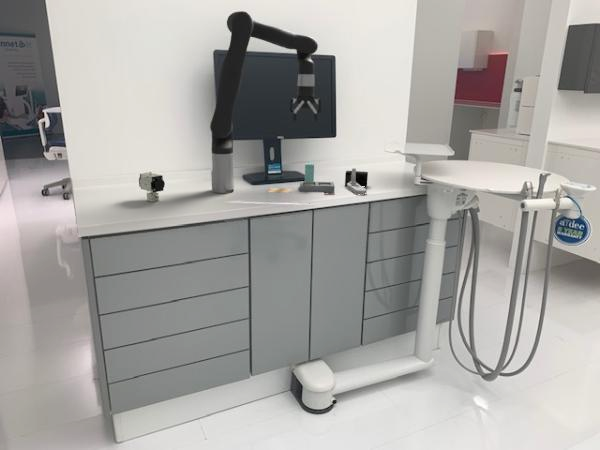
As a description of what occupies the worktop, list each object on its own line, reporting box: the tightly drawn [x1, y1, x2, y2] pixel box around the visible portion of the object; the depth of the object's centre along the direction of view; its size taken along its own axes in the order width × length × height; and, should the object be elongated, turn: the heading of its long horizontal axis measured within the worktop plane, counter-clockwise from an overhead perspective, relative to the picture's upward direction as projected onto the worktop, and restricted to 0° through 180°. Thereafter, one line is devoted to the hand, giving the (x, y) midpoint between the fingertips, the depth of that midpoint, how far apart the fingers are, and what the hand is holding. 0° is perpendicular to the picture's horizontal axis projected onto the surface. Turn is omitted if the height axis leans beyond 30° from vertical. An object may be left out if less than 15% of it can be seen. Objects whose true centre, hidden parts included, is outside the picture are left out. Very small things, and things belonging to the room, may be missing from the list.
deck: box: [266, 187, 291, 194], centre depth 215 cm, size 10×8×1 cm
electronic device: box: [346, 167, 368, 195], centre depth 219 cm, size 5×10×15 cm
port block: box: [299, 180, 336, 194], centre depth 218 cm, size 16×9×4 cm, turn 89°
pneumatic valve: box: [138, 171, 166, 203], centre depth 194 cm, size 6×12×12 cm, turn 51°
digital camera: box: [344, 170, 369, 188], centre depth 229 cm, size 10×5×7 cm, turn 78°
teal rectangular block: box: [304, 162, 315, 184], centre depth 217 cm, size 4×4×12 cm
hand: (305, 121), depth 219 cm, fingers open, 8 cm apart
